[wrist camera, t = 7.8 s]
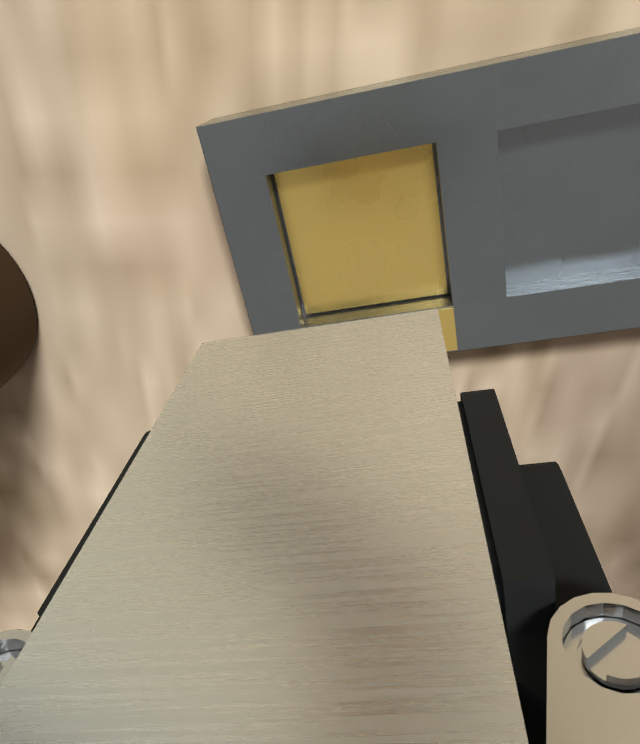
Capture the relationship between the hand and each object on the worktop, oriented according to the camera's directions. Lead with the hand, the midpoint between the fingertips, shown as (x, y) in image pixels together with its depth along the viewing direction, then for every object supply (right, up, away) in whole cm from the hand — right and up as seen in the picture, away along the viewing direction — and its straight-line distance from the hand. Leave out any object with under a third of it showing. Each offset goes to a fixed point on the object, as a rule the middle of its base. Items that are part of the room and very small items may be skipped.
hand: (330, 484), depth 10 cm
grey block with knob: (0, +1, +2) cm, 2 cm away
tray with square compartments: (+9, +9, +12) cm, 18 cm away
